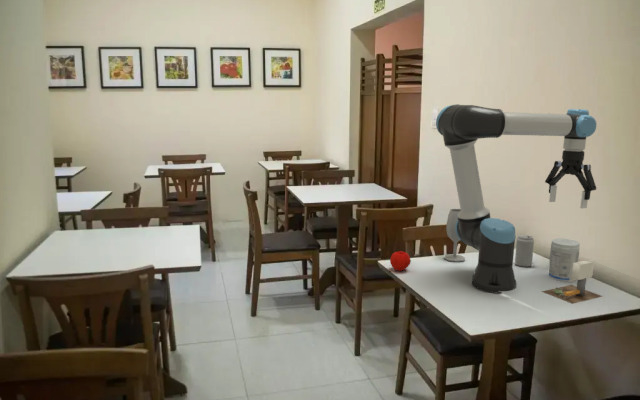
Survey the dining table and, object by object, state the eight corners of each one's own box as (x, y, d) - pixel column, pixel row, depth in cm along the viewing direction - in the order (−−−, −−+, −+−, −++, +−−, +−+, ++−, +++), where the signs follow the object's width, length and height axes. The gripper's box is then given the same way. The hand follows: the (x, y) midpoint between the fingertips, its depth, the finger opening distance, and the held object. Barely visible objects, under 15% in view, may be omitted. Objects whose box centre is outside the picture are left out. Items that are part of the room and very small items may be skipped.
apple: (405, 274, 195) (406, 256, 193) (386, 271, 199) (386, 252, 197) (413, 269, 202) (413, 250, 200) (394, 265, 205) (394, 247, 204)
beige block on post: (568, 298, 168) (572, 266, 166) (562, 296, 171) (565, 264, 169) (592, 293, 173) (596, 261, 171) (585, 290, 176) (588, 259, 174)
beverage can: (533, 268, 204) (535, 238, 202) (516, 266, 205) (518, 237, 203) (530, 263, 210) (532, 234, 208) (513, 262, 211) (515, 233, 209)
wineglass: (467, 262, 210) (470, 212, 206) (446, 262, 210) (449, 212, 206) (462, 256, 219) (465, 207, 215) (441, 256, 219) (444, 207, 215)
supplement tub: (562, 274, 197) (565, 237, 194) (582, 282, 188) (586, 243, 185) (542, 277, 193) (545, 239, 190) (561, 285, 184) (565, 246, 182)
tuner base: (572, 306, 165) (572, 301, 165) (541, 294, 176) (541, 289, 176) (602, 299, 172) (603, 294, 172) (571, 287, 183) (571, 283, 182)
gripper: (611, 153, 187) (603, 210, 191) (551, 147, 209) (546, 198, 212) (598, 153, 184) (591, 211, 187) (539, 147, 205) (533, 199, 209)
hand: (567, 204), depth 200 cm, fingers open, 13 cm apart
